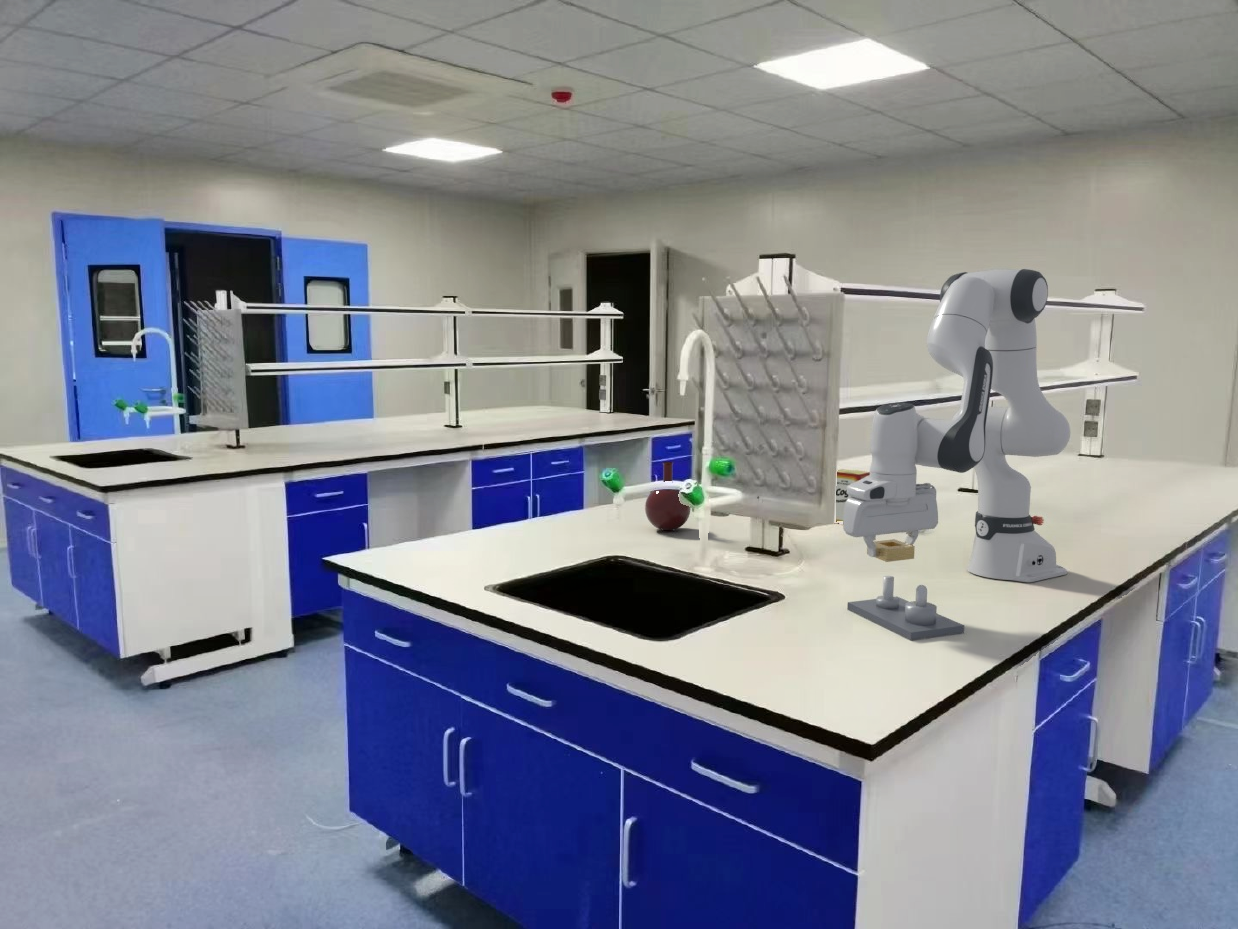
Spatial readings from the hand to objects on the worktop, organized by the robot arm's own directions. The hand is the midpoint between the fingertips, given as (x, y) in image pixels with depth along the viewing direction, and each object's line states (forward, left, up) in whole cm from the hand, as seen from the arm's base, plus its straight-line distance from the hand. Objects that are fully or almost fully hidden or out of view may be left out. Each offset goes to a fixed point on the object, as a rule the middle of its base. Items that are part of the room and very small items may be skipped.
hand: (890, 554), depth 174 cm
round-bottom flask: (+11, -88, -12) cm, 89 cm away
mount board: (0, +5, -12) cm, 13 cm away
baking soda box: (-44, -78, -12) cm, 90 cm away
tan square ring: (0, 0, 0) cm, 0 cm away
